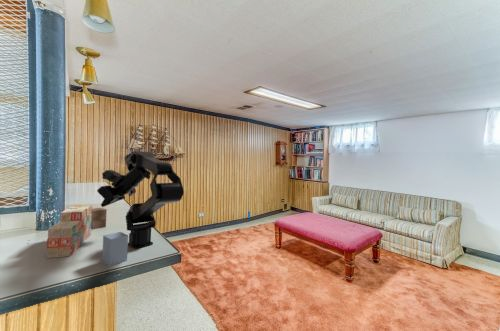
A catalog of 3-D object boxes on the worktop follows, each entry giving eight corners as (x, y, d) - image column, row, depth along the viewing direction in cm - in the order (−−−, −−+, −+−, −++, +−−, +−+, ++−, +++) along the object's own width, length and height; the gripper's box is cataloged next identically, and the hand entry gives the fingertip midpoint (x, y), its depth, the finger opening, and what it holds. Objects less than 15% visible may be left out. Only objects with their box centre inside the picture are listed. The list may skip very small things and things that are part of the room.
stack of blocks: (70, 256, 71) (72, 218, 71) (45, 258, 69) (47, 219, 69) (91, 234, 91) (92, 204, 91) (72, 236, 89) (73, 205, 89)
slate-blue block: (119, 256, 73) (120, 231, 73) (126, 260, 71) (128, 235, 70) (102, 261, 69) (103, 235, 69) (109, 266, 66) (110, 239, 66)
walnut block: (101, 224, 105) (101, 207, 105) (105, 226, 102) (106, 209, 102) (88, 226, 101) (89, 209, 101) (93, 229, 98) (93, 211, 98)
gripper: (129, 163, 96) (101, 187, 95) (104, 163, 77) (69, 194, 77) (147, 182, 97) (119, 206, 96) (127, 187, 78) (92, 217, 77)
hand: (102, 205), depth 86 cm, fingers closed
